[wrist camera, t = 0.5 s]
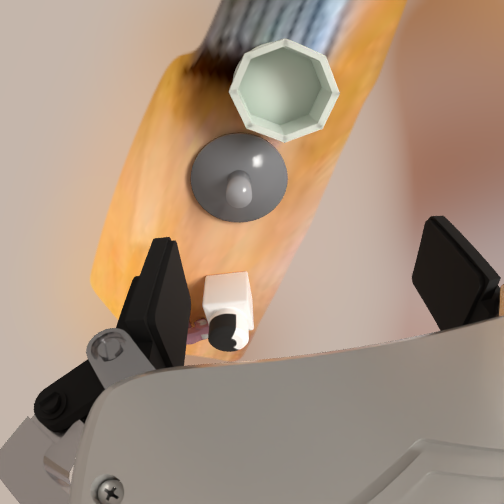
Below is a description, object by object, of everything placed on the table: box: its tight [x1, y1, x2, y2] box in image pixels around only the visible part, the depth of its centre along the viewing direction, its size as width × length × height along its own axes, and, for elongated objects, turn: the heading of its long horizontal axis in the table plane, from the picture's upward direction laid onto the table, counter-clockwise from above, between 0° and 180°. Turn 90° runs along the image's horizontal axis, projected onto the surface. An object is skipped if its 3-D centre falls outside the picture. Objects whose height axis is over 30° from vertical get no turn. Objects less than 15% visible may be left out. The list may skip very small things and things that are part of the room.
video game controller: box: [186, 319, 209, 344], centre depth 59 cm, size 10×5×7 cm, turn 107°
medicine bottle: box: [202, 271, 254, 352], centre depth 51 cm, size 7×7×12 cm
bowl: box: [229, 38, 340, 143], centre depth 34 cm, size 12×12×6 cm
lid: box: [191, 133, 288, 222], centre depth 42 cm, size 13×13×6 cm
